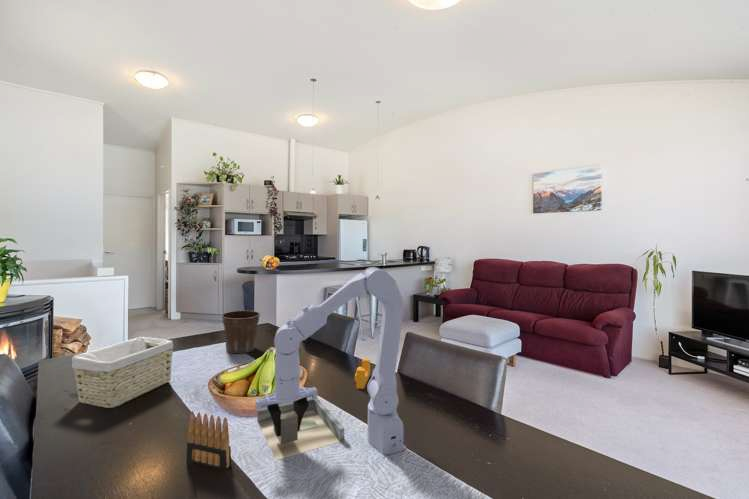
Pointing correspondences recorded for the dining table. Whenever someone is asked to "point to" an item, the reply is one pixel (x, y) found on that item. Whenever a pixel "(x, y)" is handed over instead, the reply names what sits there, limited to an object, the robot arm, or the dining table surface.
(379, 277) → the robot arm
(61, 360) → the dining table surface
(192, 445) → the ammunition clip
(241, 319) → the plant pot
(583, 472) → the dining table surface
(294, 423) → the bracket
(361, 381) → the pipe clamp
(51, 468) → the dining table surface
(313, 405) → the tray
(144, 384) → the storage basket
